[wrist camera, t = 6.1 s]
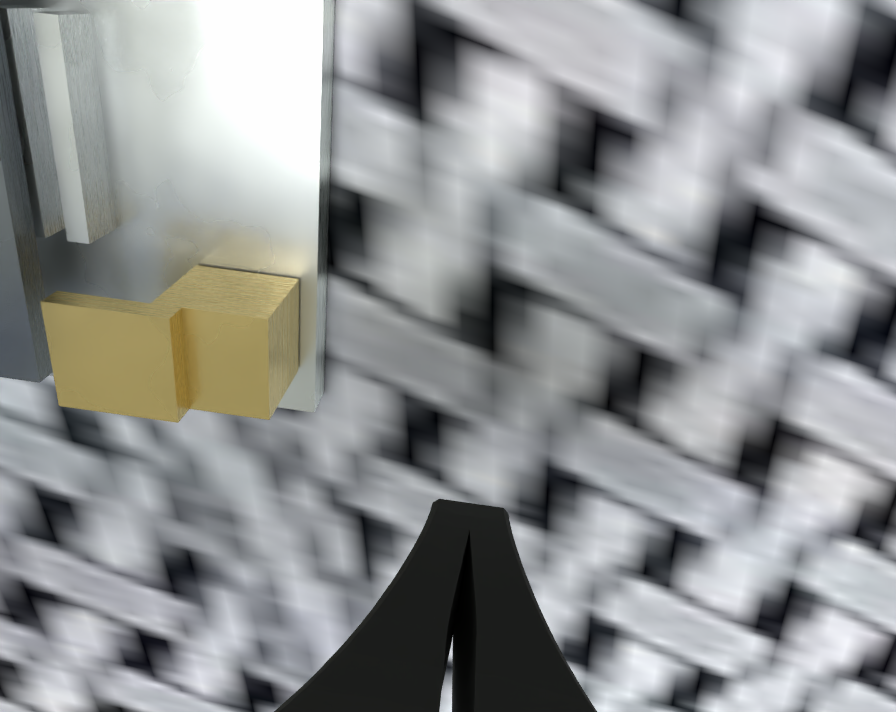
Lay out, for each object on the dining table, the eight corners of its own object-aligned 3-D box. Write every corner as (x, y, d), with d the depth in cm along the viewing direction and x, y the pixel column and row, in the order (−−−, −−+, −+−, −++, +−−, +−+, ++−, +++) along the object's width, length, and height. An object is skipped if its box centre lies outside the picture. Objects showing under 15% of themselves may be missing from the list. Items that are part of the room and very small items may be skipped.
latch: (298, 370, 21) (260, 434, 18) (125, 346, 21) (58, 405, 18) (299, 278, 20) (258, 331, 17) (114, 254, 20) (39, 301, 17)
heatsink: (323, 393, 23) (301, 439, 21) (-115, 332, 23) (-186, 370, 21) (339, -161, 16) (308, -188, 14) (-284, -233, 17) (-419, -272, 14)
